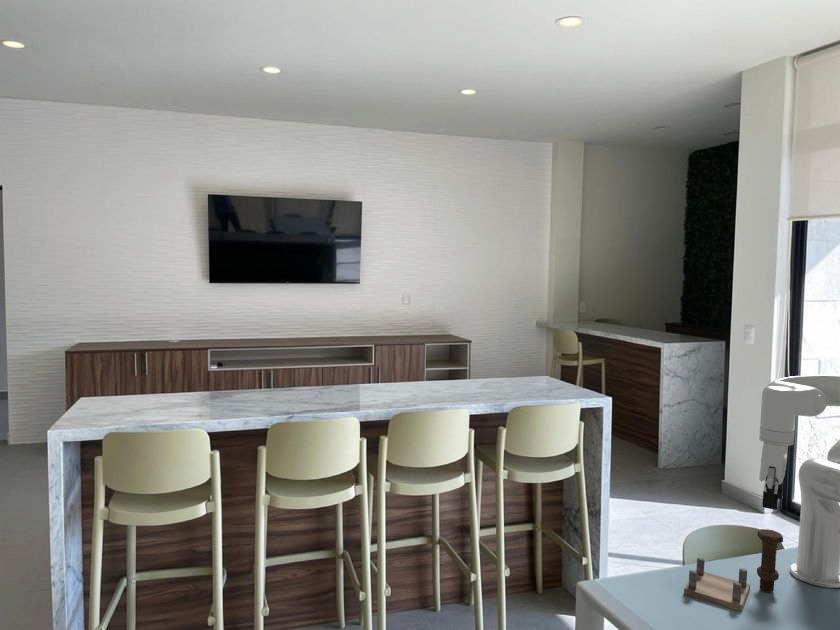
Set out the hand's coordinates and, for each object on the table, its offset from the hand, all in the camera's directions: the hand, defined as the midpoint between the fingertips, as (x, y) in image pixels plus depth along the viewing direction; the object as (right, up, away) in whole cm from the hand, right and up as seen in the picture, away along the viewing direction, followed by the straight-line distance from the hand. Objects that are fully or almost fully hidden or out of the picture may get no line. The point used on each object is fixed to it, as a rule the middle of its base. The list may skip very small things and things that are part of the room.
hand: (772, 502), depth 160 cm
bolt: (-1, -23, +2) cm, 23 cm away
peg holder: (-14, -23, 0) cm, 26 cm away
